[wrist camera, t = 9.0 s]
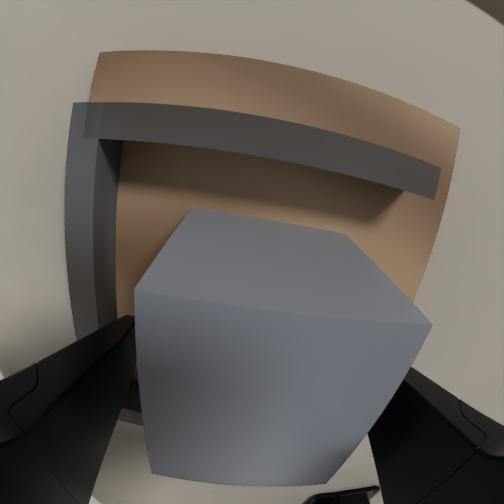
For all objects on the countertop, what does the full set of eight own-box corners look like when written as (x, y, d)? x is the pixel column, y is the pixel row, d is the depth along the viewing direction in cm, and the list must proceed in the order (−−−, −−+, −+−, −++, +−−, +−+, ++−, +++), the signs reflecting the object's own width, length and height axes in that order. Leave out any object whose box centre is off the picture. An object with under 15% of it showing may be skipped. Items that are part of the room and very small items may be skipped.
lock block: (300, 369, 12) (325, 483, 7) (178, 355, 11) (152, 473, 6) (343, 232, 10) (432, 325, 5) (192, 206, 9) (134, 288, 4)
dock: (339, 426, 14) (349, 458, 12) (107, 400, 13) (93, 433, 11) (451, 127, 9) (491, 129, 7) (106, 56, 8) (74, 39, 5)
